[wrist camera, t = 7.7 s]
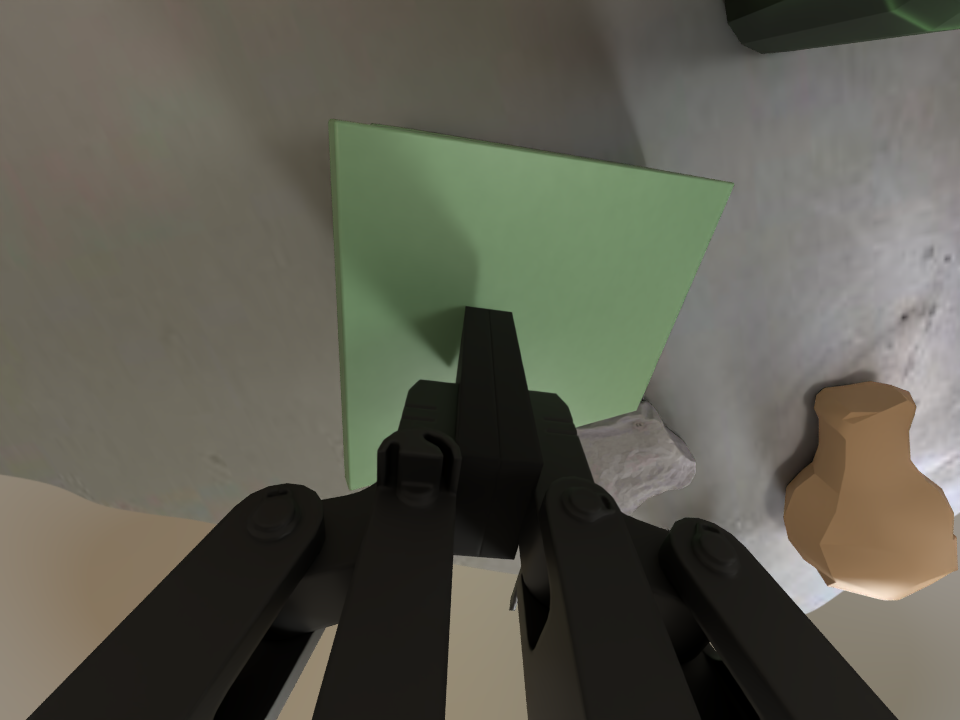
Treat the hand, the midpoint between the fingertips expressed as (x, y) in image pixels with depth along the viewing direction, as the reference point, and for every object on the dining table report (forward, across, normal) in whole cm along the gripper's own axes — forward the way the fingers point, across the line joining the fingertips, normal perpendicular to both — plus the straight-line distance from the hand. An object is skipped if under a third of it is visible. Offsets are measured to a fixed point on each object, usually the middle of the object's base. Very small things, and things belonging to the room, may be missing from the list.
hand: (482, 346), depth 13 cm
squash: (+14, +34, -15) cm, 40 cm away
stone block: (+14, +13, -16) cm, 25 cm away
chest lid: (+3, +2, 0) cm, 4 cm away
